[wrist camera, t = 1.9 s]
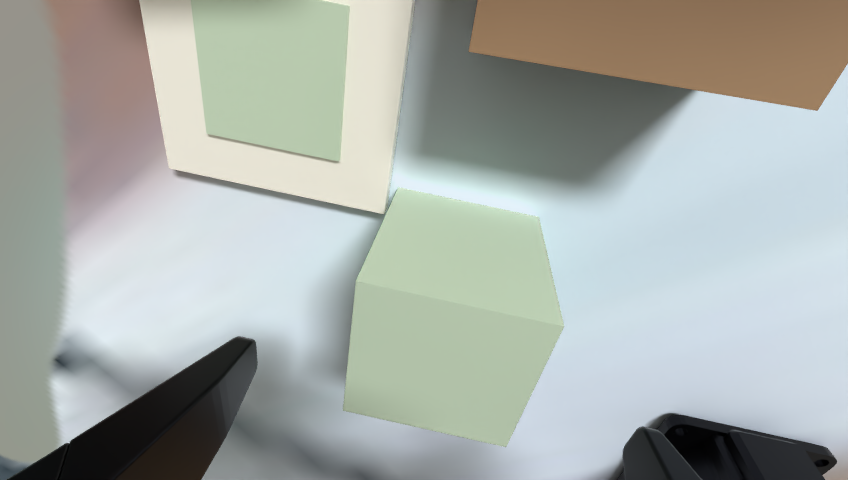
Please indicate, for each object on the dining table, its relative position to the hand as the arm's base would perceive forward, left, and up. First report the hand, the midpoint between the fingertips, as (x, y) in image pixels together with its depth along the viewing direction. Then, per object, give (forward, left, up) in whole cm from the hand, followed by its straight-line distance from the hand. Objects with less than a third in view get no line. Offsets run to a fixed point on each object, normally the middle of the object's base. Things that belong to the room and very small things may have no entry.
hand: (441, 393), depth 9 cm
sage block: (0, 0, -6) cm, 6 cm away
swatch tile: (+5, +6, -5) cm, 10 cm away
